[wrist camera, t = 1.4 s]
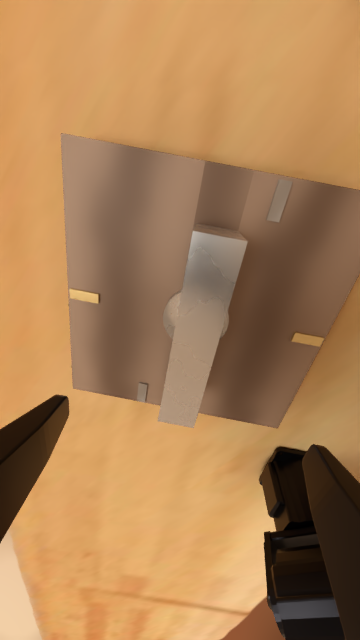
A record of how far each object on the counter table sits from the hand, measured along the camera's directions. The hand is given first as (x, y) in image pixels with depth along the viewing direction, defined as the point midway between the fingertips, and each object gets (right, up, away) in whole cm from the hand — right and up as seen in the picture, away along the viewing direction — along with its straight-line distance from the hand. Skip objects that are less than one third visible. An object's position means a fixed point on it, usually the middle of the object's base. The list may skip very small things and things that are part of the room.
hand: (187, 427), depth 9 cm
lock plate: (+1, +5, +11) cm, 12 cm away
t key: (+1, +5, +10) cm, 11 cm away
